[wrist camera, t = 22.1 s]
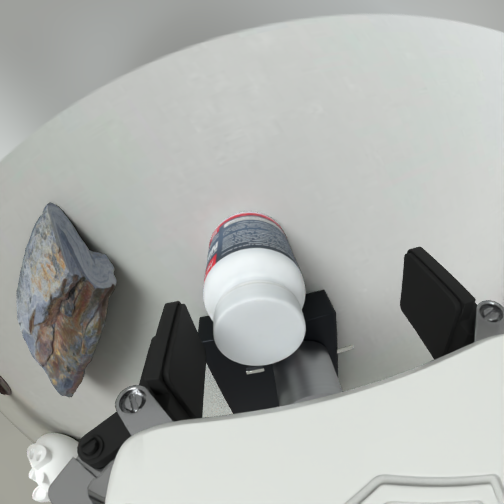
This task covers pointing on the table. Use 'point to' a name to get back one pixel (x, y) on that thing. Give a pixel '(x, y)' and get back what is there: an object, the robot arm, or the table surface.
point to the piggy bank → (49, 461)
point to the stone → (62, 299)
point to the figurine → (4, 387)
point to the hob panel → (262, 377)
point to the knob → (305, 375)
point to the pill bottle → (254, 290)
